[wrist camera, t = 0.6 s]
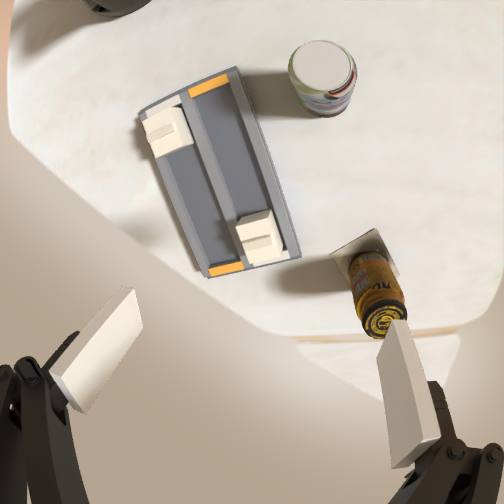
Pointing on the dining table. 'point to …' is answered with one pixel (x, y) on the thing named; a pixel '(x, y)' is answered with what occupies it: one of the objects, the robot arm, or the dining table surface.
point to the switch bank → (222, 174)
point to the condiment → (372, 283)
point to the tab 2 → (260, 236)
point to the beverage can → (323, 77)
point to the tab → (168, 131)
